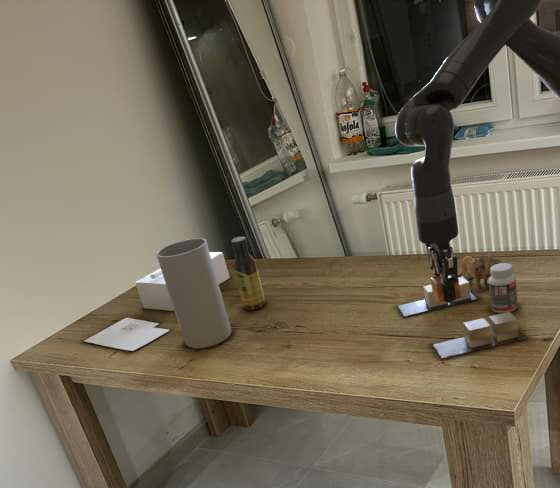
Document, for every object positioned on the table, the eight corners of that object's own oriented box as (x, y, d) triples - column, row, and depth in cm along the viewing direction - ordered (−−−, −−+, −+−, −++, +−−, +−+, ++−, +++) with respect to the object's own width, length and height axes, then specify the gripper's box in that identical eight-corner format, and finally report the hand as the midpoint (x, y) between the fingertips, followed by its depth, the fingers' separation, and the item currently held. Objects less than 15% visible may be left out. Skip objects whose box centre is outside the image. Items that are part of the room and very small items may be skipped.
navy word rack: (467, 290, 166) (466, 273, 165) (477, 300, 160) (475, 283, 158) (397, 306, 167) (395, 290, 165) (404, 317, 161) (401, 300, 159)
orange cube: (454, 290, 139) (451, 272, 137) (460, 297, 135) (458, 279, 133) (433, 295, 139) (430, 277, 137) (439, 303, 135) (436, 284, 133)
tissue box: (229, 277, 217) (220, 245, 212) (175, 311, 201) (164, 276, 196) (198, 276, 226) (188, 245, 221) (143, 308, 210) (132, 275, 205)
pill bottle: (517, 313, 150) (513, 270, 145) (490, 314, 152) (486, 273, 148) (518, 302, 154) (515, 261, 150) (492, 303, 157) (488, 263, 152)
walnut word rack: (513, 326, 144) (512, 308, 143) (526, 339, 138) (525, 320, 136) (432, 345, 145) (430, 327, 143) (442, 359, 139) (439, 340, 137)
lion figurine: (506, 287, 163) (503, 252, 159) (488, 295, 161) (485, 259, 157) (465, 275, 175) (461, 242, 171) (448, 282, 173) (444, 249, 169)
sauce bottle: (241, 306, 192) (223, 239, 183) (262, 299, 193) (245, 232, 184) (248, 313, 186) (229, 244, 177) (269, 306, 187) (251, 237, 178)
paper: (80, 343, 195) (78, 340, 195) (124, 317, 206) (123, 314, 205) (135, 352, 179) (134, 349, 179) (180, 324, 190) (179, 321, 190)
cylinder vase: (229, 323, 183) (204, 234, 171) (234, 341, 171) (207, 247, 160) (184, 336, 182) (156, 247, 171) (186, 354, 171) (156, 261, 160)
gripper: (466, 218, 123) (476, 304, 130) (444, 201, 135) (454, 280, 143) (426, 228, 123) (438, 314, 131) (407, 210, 136) (419, 289, 143)
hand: (446, 296), depth 137 cm, fingers closed on orange cube, 4 cm apart
